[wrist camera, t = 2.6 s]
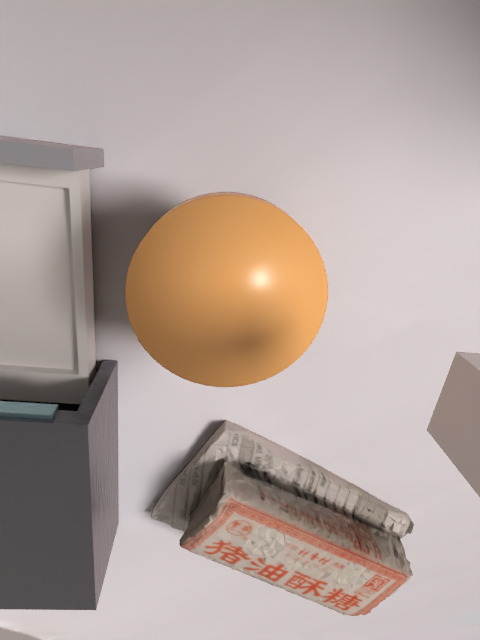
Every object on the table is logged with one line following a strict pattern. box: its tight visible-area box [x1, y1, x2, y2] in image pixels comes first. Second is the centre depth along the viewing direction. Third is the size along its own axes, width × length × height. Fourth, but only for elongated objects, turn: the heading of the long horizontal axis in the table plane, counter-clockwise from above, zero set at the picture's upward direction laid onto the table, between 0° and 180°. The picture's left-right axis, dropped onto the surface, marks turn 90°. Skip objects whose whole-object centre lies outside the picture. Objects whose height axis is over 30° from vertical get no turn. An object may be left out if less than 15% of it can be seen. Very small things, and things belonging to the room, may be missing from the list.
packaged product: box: [151, 420, 414, 616], centre depth 28 cm, size 18×5×10 cm
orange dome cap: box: [125, 192, 328, 387], centre depth 16 cm, size 8×8×2 cm
